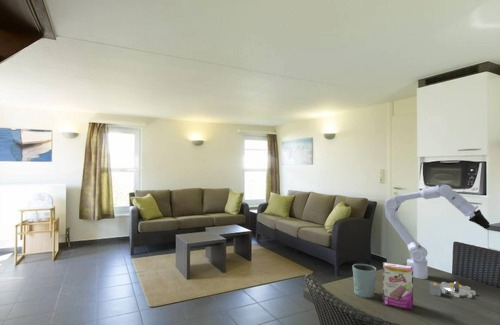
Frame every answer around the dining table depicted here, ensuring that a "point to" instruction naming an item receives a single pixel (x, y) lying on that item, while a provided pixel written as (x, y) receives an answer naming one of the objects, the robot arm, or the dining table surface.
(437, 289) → the link block
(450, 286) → the sprocket
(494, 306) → the dining table surface
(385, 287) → the candy bar box
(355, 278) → the teal cup
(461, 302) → the dining table surface
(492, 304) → the dining table surface
